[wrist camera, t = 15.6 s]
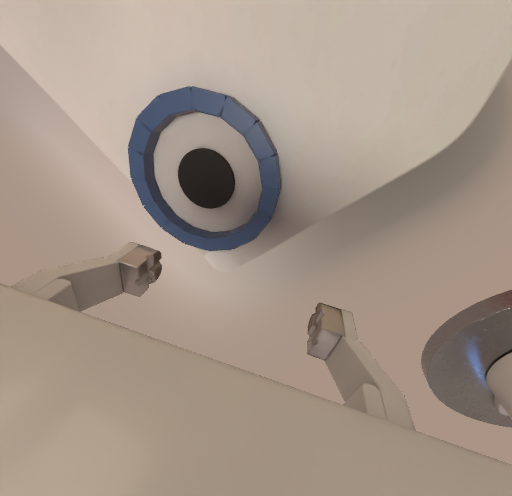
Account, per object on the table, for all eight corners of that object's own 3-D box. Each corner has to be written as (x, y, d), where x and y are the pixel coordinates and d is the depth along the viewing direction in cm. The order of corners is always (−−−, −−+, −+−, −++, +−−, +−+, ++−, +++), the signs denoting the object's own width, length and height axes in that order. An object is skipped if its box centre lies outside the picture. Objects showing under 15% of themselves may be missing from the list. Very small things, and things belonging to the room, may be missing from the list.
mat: (239, 157, 21) (238, 157, 21) (230, 213, 24) (229, 215, 24) (180, 141, 21) (178, 141, 21) (179, 198, 25) (177, 200, 24)
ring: (301, 114, 18) (301, 114, 17) (260, 258, 26) (258, 266, 25) (133, 71, 19) (119, 67, 18) (144, 223, 27) (135, 229, 26)
